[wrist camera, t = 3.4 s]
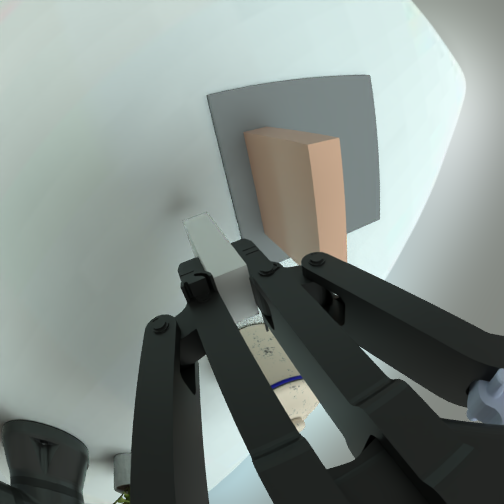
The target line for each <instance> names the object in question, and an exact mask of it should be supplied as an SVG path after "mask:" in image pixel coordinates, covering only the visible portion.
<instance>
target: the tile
mask: <svg viewBox="0 0 504 504" xmlns="http://www.w3.org/2000/svg"><path fill="white" fill-rule="evenodd" d="M243 133H244V138H245V143H246V147H247V152H248V156H249V161H250V166H251V170H252V175H253V180H254V185H255V189H256V194H257V199H258V204H259V209H260V213H261V218H262V223H263V228H264V233H265V234H266V235H267V236H268V237H269V238H270V239H271V240H272V241H273V242H274V243H275V244H277V245H278V246H279V247H280V248H281V249H282V250H283V251H284V252H285V253H286V254H287V255H288V256H289V257H290V258H292V259H293V260H294V261H295V262H296V263H297V264H298V265H301V261H302V258H303V257H304V256H305V255H307V254H309V253H313V252H324V253H327V254H329V255H331V256H334V257H336V258H338V259H340V260H342V261H344V262H346V263H347V234H346V211H345V194H344V181H343V169H342V158H341V148H340V139H339V138H338V137H333V136H328V135H322V134H316V133H310V132H304V131H297V130H290V129H283V128H275V127H263V128H258V129H254V130H250V131H246V132H243Z"/></svg>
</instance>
